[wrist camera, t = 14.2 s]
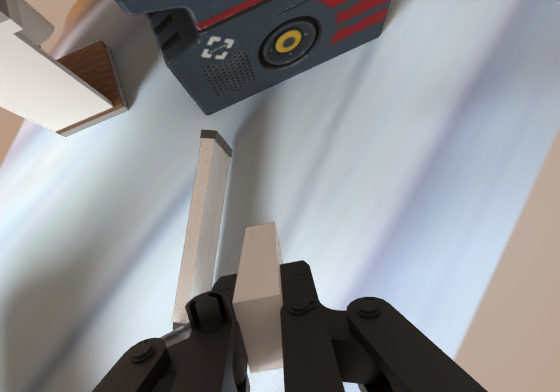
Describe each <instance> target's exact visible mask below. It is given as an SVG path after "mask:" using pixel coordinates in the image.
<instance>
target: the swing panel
mask: <svg viewBox="0 0 560 392" xmlns="http://www.w3.org/2000/svg"><path fill="white" fill-rule="evenodd" d="M200 138H201V144H200V150H199V157H198V163H197V169H196V175H195V181H194V187H193V194H192V200H191V206H190V212H189V218H188V224H187V230H186V237H185V243H184V249H183V255H182V261H181V267H180V273H179V280H178V286H177V292H176V298H175V304H174V310H173V317H172V322H177V323H183V324H186V323H188V322H189V319H188V315H187V312H186V309H185V306H186V304H187V303H188V302H189V301H190V300H191V299H192V298H194V297H195V296H197V295H199V294H201V293H205V292H208V291H211V288H212V281H213V274H214V267H215V261H216V254H217V247H218V240H219V233H220V226H221V219H222V212H223V205H224V198H225V192H226V185H227V178H228V171H229V164H230V157H232V151H233V150H232V149H231V148H230V147H229V145H228V144H227V143H226V142H225V140H224V139H223V138H222V137H221V135H220V134H219V133H218V132H217V131H215V130H201V137H200Z"/></svg>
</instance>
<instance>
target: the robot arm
mask: <svg viewBox="0 0 560 392" xmlns="http://www.w3.org/2000/svg"><path fill="white" fill-rule="evenodd" d="M185 309H186V312H187V315H188V319H189V322H190V325H191V328H192V330H191V333H190V336H189V337H188V338H187V339H185V340H183V341H181V342H178V343H176V344H173V345H171V346H168V347H167V346H166V343H165V341H164V340H163V339H160V338H150V339H146V340H144V341H141V342H139V343H137V344H136V345H134V346H132V347H131V348H130V349H129V350H128V351H127V352H125V353H124V355H123V356H122V357H121V358H120V359H119V360H118V362H117V363H116V364H115V365H114V366H113V367H112V369H111V370H110V371H109V372H108V373H107V374H106V376H105V377H104V378H103V379H102V380H101V382H100V383H99V384H98V385H97V386H96V387H95V389H94V390H93V391H92V392H250V384H249V379H248V376H247V363H248V365H249V369H250V373H256V372H262V371H267V370H273V369H278V368H283V369H284V386H285V392H345V390H344V387H343V383H342V382H350V383H357V384H358V386H359V389H360V391H361V392H488V391H486V390H485V389H484V388H483V387H482V386H481V385H480V384H479V383H477V382H476V381H475V380H474V379H473V378H472V377H471V376H470V375H468V374H467V373H466V372H465V371H464V370H463V369H462V368H461V367H460V366H458V365H457V364H456V363H455V362H454V361H453V360H452V359H451V358H450V357H448V356H447V355H446V354H445V353H444V352H443V351H442V350H441V349H440V348H438V347H437V346H436V345H435V344H434V343H433V342H432V341H431V340H429V339H428V338H427V337H426V336H425V335H424V334H423V333H422V332H421V331H419V330H418V329H417V328H416V327H415V326H414V325H413V324H412V323H410V322H409V321H408V320H407V319H406V318H405V317H404V316H403V315H401V314H400V313H399V312H398V311H397V310H396V309H395V308H394V307H393V306H391V305H390V304H389V303H388V302H386V301H385V300H383V299H380V298H376V297H363V298H358V299H356V300H354V301H352V302H351V303H350V304H349V305H348V306H347V311H339V310H332V309H329V308H327V307H325V306H323V305H322V304H321V303H320V301H319V299H318V296H317V292H316V288H315V285H314V281H313V277H312V273H311V270H310V266H309V265H308V264H307V263H306V262H304V261H303V260H302V261H297V262H291V263H286V264H283V260H282V255H281V250H280V245H279V240H278V235H277V230H276V225H275V222H272V223H267V224H262V225H256V226H251V227H246V230H245V235H244V241H243V246H242V252H241V258H240V263H239V269H238V274H233V275H227V276H222V277H220V278H219V279H218V281H217V282H216V283H215V284H214V287H213V290H212V291H208V292H205V293H201V294H199V295H197V296H195V297H194V298H192V299H191V300H190V301H189V302H188V303H187V304H186V306H185Z"/></svg>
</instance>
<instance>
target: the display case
mask: <svg viewBox="0 0 560 392" xmlns="http://www.w3.org/2000/svg"><path fill="white" fill-rule="evenodd" d="M53 31H54V26H53V25H52V24H51V23H50V22H49V21H48V20H46V19H45V18H44V17H43V16H42V15H41V14H40V13H38V12H37V11H36V10H35V9H34V8H33V7H31V6H30V5H29V4H28V3H27V2H26V1H25V0H0V107H2V108H5V109H7V110H9V111H11V112H13V113H15V114H17V115H20V116H22V117H24V118H26V119H28V120H30V121H32V122H34V123H36V124H39V125H41V126H43V127H45V128H47V129H49V130H51V131H53V132H56V133H58V134H60V135H62V136H64V137H67V136H69V135H71V134H74V133H76V132H79V131H81V130H83V129H86V128H88V127H90V126H93V125H95V124H97V123H100V122H102V121H104V120H107V119H109V118H112V117H114V116H116V115H119V114H121V113H123V112H126V111H128V106H127V103H126V100H125V97H124V93H123V90H122V87H121V84H120V80H119V77H118V74H117V70H116V67H115V64H114V61H113V57H112V54H111V51H110V49H109V48H108V47H107V46H106V45H105V44H104V43H103V42H102V41H99V42H97V43H95V44H92V45H90V46H88V47H85V48H83V49H81V50H78V51H76V52H74V53H72V54H69V55H67V56H65V57H62V58H60V59H58V60H55V59H54V58H52V57H51V56H50V55H48V54H47V53H46V52H44V51H43V50H42V49H41V46H40V45H41V44H42V43H43V42H44V41H46V40H47V39H48V38H49V37H50V36H51V34H52V33H53Z"/></svg>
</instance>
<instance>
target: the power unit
mask: <svg viewBox="0 0 560 392" xmlns="http://www.w3.org/2000/svg"><path fill="white" fill-rule="evenodd" d="M115 1H116V2H117V3H118V4H119V6H120V7H121V8H122V10H123V11H124V12H125V13H127V14H128V15H139V14H145V13H146V15H147V17H148V18H149V21H150V25H151V27H152V30H153V32H154V34H155V36H156V40H157V43H158V45H159V48H160V49H161V51H162V53H163V58H164V60H165V63H166V65H167V67H168V68H169V69H170V70H171V72H172V73H173V74H174V75H175V77H176V78H177V79H178V81H179V82H180V83H181V84H182V86H183V87H184V88H185V89H186V91H187V92H188V93H189V94H190V96H191V97H192V98H193V100H194V101H195V102H196V103H197V105H198V106H199V107H200V108H201V110H202V111H203V112H204V113H205V114H206V115H210V114H213V113H215V112H217V111H219V110H221V109H223V108H226V107H228V106H230V105H232V104H234V103H236V102H239V101H241V100H243V99H245V98H247V97H249V96H252V95H254V94H256V93H258V92H260V91H262V90H265V89H267V88H269V87H271V86H273V85H275V84H278V83H280V82H282V81H284V80H286V79H288V78H291V77H293V76H295V75H297V74H299V73H301V72H304V71H306V70H308V69H310V68H312V67H314V66H317V65H319V64H321V63H323V62H325V61H327V60H330V59H332V58H334V57H336V56H338V55H340V54H343V53H345V52H347V51H349V50H351V49H353V48H355V47H358V46H360V45H362V44H364V43H366V42H368V41H371V40H373V39H375V38H377V37H379V36H380V34H381V31H382V27H383V24H384V20H385V17H386V14H387V10H388V7H389V3H390V0H115Z"/></svg>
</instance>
